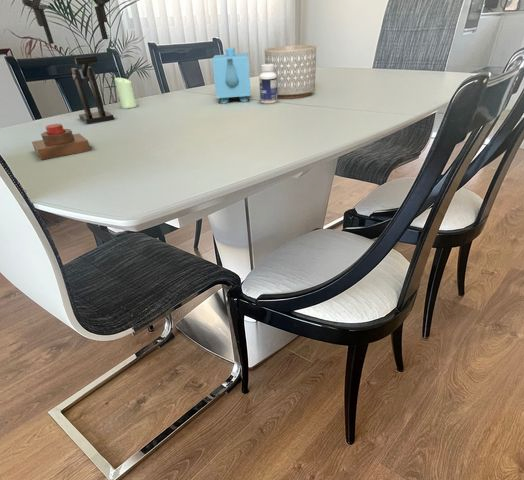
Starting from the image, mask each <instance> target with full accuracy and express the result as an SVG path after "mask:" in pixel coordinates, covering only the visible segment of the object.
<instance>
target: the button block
mask: <svg viewBox="0 0 524 480" xmlns="http://www.w3.org/2000/svg"><path fill="white" fill-rule="evenodd" d="M63 129H64V133H60V134H54V135H48V133H47V131H45V132H42V133H40V136H41V139H39V140H34V141H31V144H32V146H33V149H34V151H35V153H36V154H37V155H38V157H39V158H40V160H41V161H44V160H49V159H55V158H59V157H64V156H70V155H75V154H80V153H84V152H91V151H92V150H91V149H92V148H91V145H90V144H89V140H88V139H87V138H86V137H84V135H82V134H81V133H73V131H72V130H71V129H70V128H63Z"/></svg>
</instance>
